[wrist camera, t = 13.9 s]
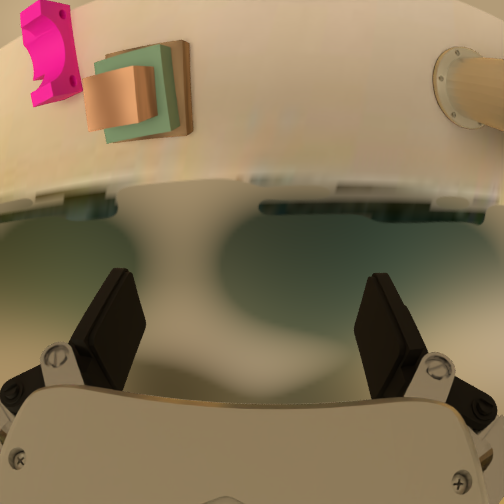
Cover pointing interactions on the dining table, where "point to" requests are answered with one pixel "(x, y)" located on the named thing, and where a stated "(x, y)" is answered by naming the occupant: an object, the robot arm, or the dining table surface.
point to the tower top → (165, 91)
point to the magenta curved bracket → (51, 51)
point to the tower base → (181, 87)
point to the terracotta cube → (120, 97)
